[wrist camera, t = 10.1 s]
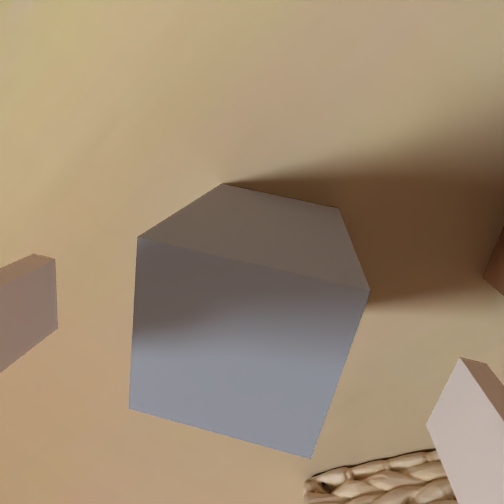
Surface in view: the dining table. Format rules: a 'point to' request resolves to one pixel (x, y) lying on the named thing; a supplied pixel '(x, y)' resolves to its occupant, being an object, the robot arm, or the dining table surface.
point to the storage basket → (384, 483)
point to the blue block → (245, 316)
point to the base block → (496, 266)
